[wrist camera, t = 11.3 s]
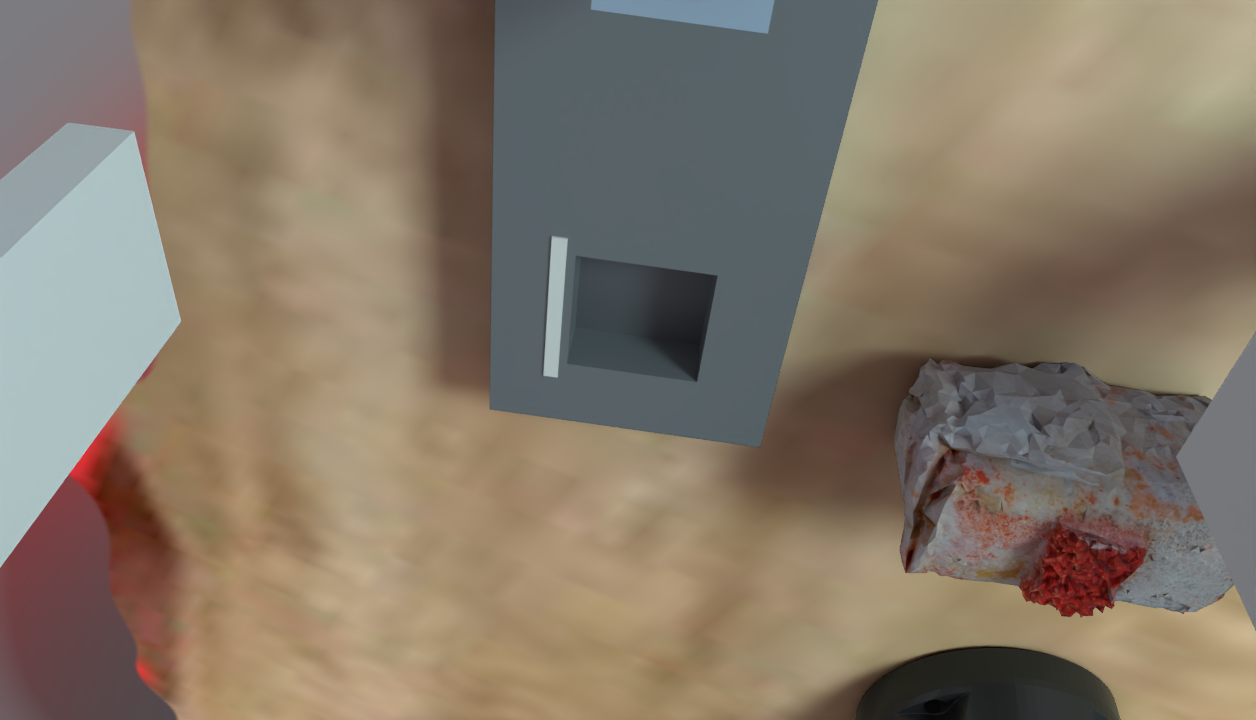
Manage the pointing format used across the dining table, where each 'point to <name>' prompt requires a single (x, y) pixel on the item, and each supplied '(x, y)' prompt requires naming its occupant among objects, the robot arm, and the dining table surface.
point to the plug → (698, 11)
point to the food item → (1054, 488)
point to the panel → (659, 208)
